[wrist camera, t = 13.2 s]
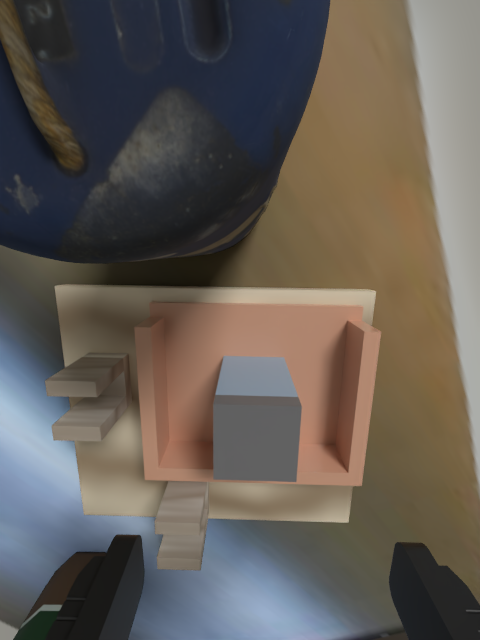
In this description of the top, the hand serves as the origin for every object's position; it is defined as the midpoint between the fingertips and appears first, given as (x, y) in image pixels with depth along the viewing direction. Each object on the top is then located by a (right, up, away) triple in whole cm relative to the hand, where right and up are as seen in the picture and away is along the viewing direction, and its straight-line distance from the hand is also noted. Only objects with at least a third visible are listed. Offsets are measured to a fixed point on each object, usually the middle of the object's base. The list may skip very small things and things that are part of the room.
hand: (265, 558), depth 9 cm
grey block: (0, +3, +13) cm, 13 cm away
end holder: (0, +3, +13) cm, 14 cm away
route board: (-3, 0, +15) cm, 15 cm away
